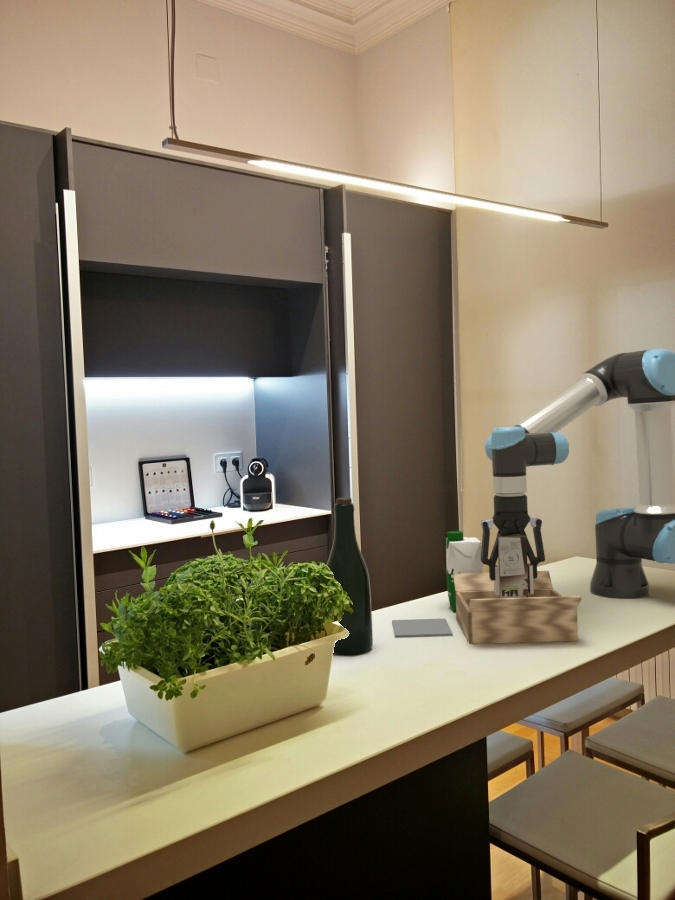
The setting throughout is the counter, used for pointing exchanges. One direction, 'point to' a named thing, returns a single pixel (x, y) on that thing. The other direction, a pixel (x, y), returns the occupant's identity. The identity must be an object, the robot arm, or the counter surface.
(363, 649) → the dark green wine bottle
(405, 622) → the mat
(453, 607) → the milk carton
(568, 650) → the counter surface
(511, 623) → the wooden box frame
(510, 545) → the coffee box
